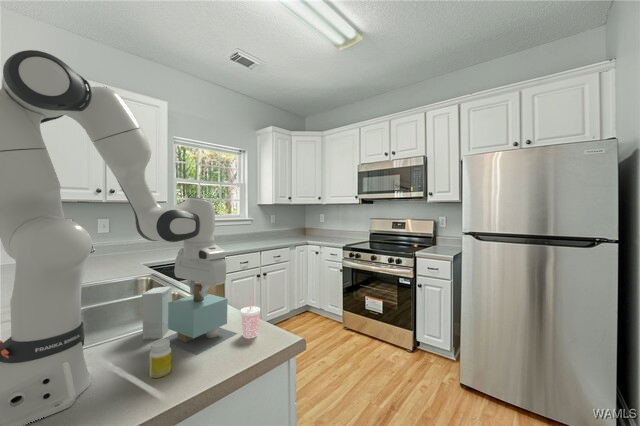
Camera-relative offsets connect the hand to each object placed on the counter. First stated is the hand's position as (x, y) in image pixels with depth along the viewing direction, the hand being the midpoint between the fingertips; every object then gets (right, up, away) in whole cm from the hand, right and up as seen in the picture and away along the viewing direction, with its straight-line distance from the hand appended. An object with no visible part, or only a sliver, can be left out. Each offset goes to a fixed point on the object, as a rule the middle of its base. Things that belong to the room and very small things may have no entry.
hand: (198, 295), depth 86 cm
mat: (0, -14, +1) cm, 14 cm away
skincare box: (-14, -14, +3) cm, 20 cm away
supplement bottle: (-1, -15, -18) cm, 23 cm away
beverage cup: (+16, -14, +2) cm, 21 cm away
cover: (0, -10, 0) cm, 10 cm away
